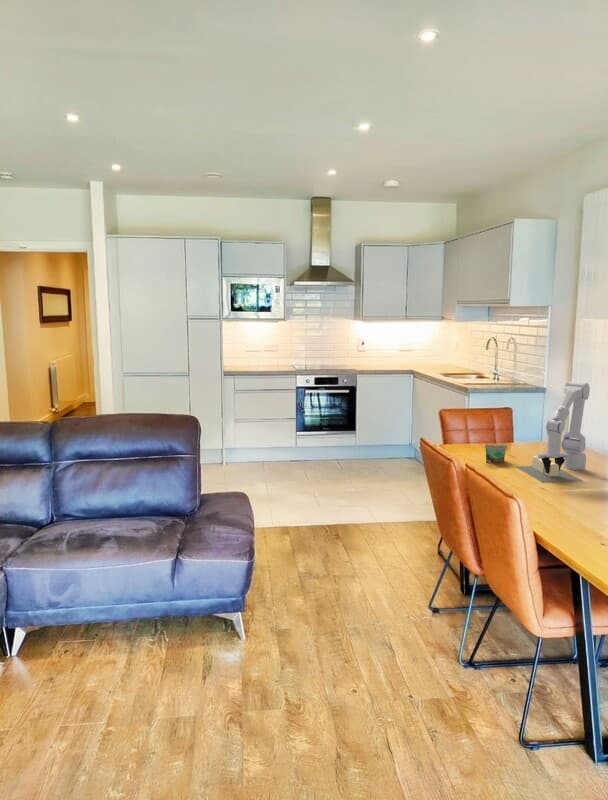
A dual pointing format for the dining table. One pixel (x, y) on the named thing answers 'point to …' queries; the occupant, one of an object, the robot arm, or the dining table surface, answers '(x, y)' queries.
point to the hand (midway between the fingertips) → (551, 472)
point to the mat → (545, 478)
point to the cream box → (538, 464)
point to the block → (553, 470)
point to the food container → (495, 453)
